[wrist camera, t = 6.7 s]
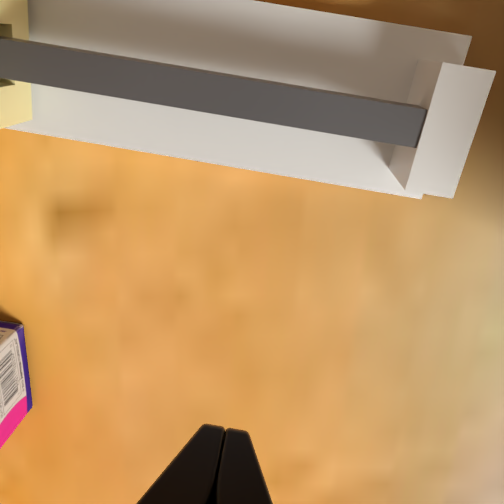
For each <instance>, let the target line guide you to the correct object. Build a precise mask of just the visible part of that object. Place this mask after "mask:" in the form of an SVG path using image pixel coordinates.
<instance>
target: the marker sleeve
mask: <svg viewBox="0 0 504 504" xmlns="http://www.w3.org/2000/svg"><path fill="white" fill-rule="evenodd" d="M0 36H5V37H11V38H17V39H23V40H29V25H28V1H27V0H0ZM30 120H32V97H31V83H27V82H21V81H15V80H9V79H3V78H0V129H2V128H5V127H9V126H12V125H16V124H19V123H23V122H26V121H30Z"/></svg>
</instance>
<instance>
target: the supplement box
mask: <svg viewBox="0 0 504 504" xmlns="http://www.w3.org/2000/svg"><path fill="white" fill-rule="evenodd" d="M31 408H32V397H31V388H30V378H29V371H28V362H27V354H26V346H25V338H24V328H23V325H22V324H18V323H13V322H6V321H0V448H1V447H2V446H3V444H4V443H5V442H6V440H7V439H8V438H9V437H10V435H11V434H12V433H13V431H14V430H15V429H16V427H17V426H18V425H19V423H20V422H21V421H22V420H23V418H24V417H25V416H26V414H27V413H28V412H29V410H30V409H31Z"/></svg>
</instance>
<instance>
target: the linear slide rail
mask: <svg viewBox="0 0 504 504" xmlns="http://www.w3.org/2000/svg"><path fill="white" fill-rule="evenodd" d="M27 1H28V25H29V40H23V39H17V38H11V37H5V36H0V78H3V79H9V80H15V81H21V82H27V83H31V97H32V120H30V121H26V122H23V123H19V124H16V125H12V126H9V127H5V128H7V129H13V130H19V131H24V132H30V133H36V134H42V135H48V136H54V137H60V138H66V139H71V140H77V141H83V142H89V143H95V144H101V145H107V146H112V147H118V148H124V149H130V150H136V151H142V152H148V153H153V154H159V155H165V156H171V157H177V158H183V159H189V160H195V161H200V162H206V163H212V164H218V165H224V166H230V167H236V168H241V169H247V170H253V171H259V172H265V173H271V174H277V175H282V176H288V177H294V178H300V179H306V180H312V181H318V182H324V183H329V184H335V185H341V186H347V187H353V188H359V189H365V190H370V191H376V192H382V193H388V194H394V195H400V196H406V197H411V198H417V199H422V196H423V194H428V195H434V196H440V197H446V198H452V199H453V197H454V194H455V191H456V188H457V185H458V182H459V179H460V176H461V173H462V170H463V167H464V164H465V161H466V159H467V156H468V153H469V150H470V147H471V144H472V141H473V138H474V135H475V132H476V129H477V126H478V123H479V120H480V118H481V115H482V112H483V109H484V106H485V103H486V100H487V97H488V94H489V91H490V88H491V85H492V82H493V79H494V77H495V74H496V71H493V70H487V69H481V68H475V67H469V66H463V65H464V61H465V58H466V55H467V52H468V49H469V46H470V42H471V39H472V36H469V35H463V34H457V33H451V32H444V31H438V30H432V29H426V28H420V27H414V26H408V25H402V24H395V23H389V22H383V21H377V20H371V19H365V18H359V17H353V16H347V15H340V14H334V13H328V12H322V11H316V10H310V9H304V8H298V7H291V6H285V5H279V4H273V3H267V2H261V1H255V0H27Z"/></svg>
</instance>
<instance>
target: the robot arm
mask: <svg viewBox="0 0 504 504" xmlns="http://www.w3.org/2000/svg"><path fill="white" fill-rule="evenodd" d="M224 435H225V436H224ZM137 504H273V503H272V500H271V497H270V494H269V491H268V488H267V485H266V483H265V480H264V477H263V474H262V471H261V468H260V465H259V462H258V459H257V456H256V453H255V450H254V447H253V444H252V441H251V438H250V435H249V433H248V432H247V431H244V430H238V429H233V428H228V429H226V431H225V429H224V427H222V426H216V425H211V424H203V425H202V426H201V427H200V428H199V429H198V431H197V432H196V433H195V434H194V435H193V437H192V438H191V439H190V440H189V441H188V443H187V444H186V445H185V446H184V447H183V449H182V450H181V451H180V452H179V453H178V455H177V456H176V457H175V458H174V459H173V461H172V462H171V463H170V464H169V465H168V466H167V468H166V469H165V470H164V471H163V472H162V474H161V475H160V476H159V477H158V478H157V480H156V481H155V482H154V483H153V484H152V486H151V487H150V488H149V489H148V490H147V492H146V493H145V494H144V495H143V496H142V498H141V499H140V500H139V501H138V502H137Z"/></svg>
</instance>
